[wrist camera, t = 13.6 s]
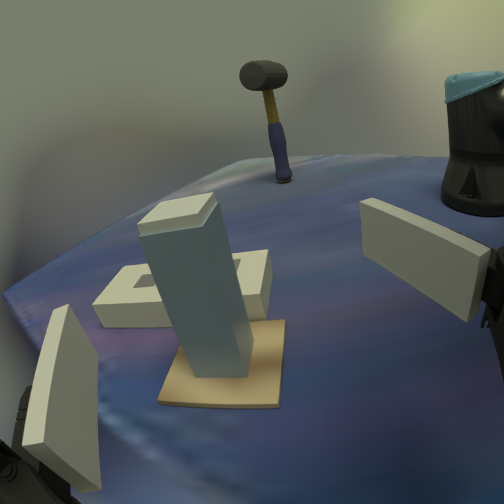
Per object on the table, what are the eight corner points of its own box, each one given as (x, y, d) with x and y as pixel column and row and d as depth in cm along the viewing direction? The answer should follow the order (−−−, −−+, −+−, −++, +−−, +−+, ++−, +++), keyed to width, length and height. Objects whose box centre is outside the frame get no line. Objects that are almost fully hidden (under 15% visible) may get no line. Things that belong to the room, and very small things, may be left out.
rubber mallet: (281, 175, 83) (259, 64, 70) (307, 174, 79) (286, 58, 66) (259, 190, 74) (233, 63, 61) (289, 189, 70) (263, 56, 57)
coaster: (190, 329, 33) (188, 325, 32) (286, 323, 31) (285, 319, 30) (159, 404, 24) (157, 400, 24) (279, 407, 22) (278, 403, 22)
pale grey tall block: (207, 342, 30) (159, 201, 23) (254, 340, 29) (216, 191, 23) (195, 377, 26) (134, 225, 19) (247, 377, 25) (199, 214, 19)
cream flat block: (157, 254, 52) (151, 234, 51) (277, 239, 48) (273, 217, 47) (104, 327, 36) (91, 303, 34) (266, 322, 32) (259, 292, 30)
